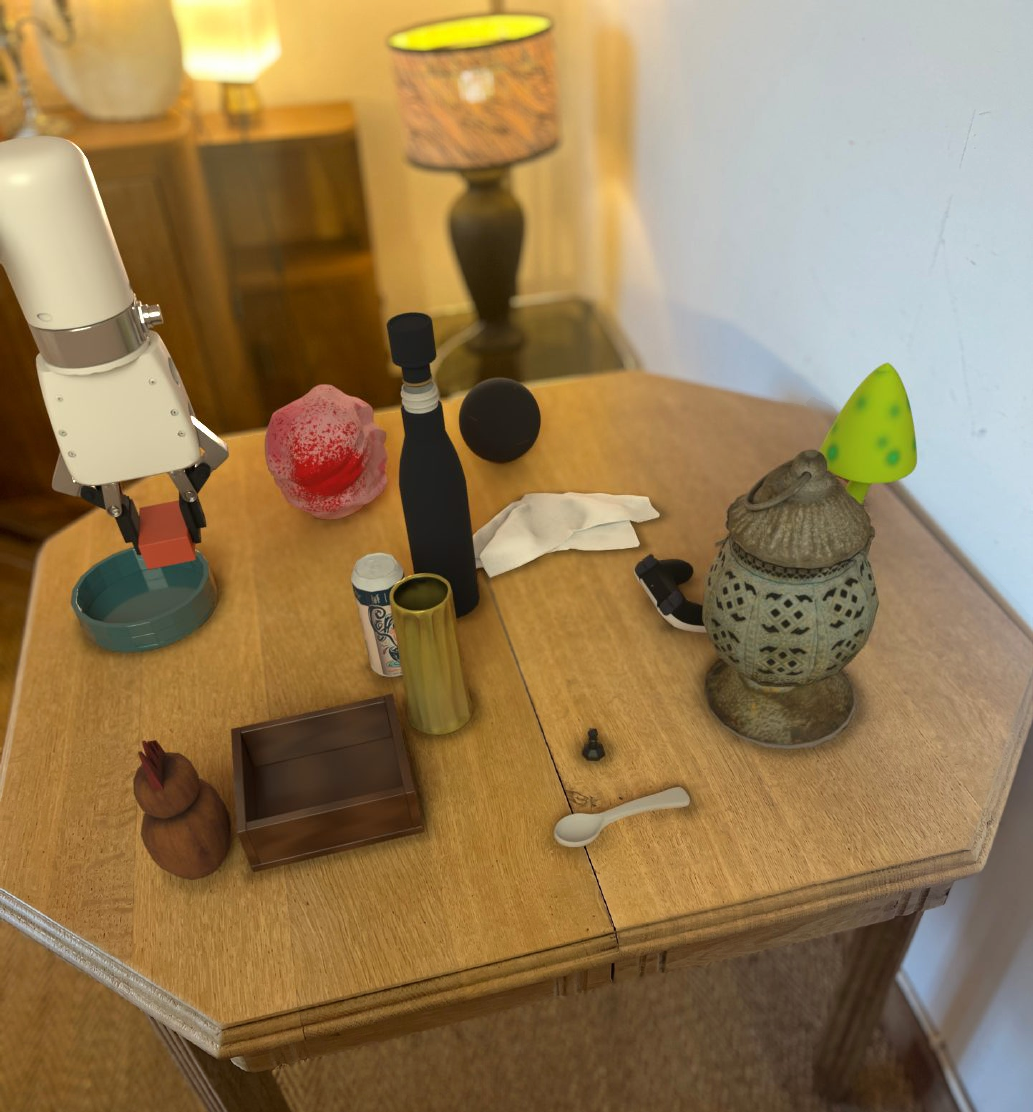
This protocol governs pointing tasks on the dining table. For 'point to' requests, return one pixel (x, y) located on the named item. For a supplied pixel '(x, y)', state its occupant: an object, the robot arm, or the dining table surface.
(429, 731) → the vase
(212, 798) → the wooden figurine
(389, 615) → the beer can
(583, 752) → the chess pawn
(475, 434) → the speaker
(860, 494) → the mushroom
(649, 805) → the spoon
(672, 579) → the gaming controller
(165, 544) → the red rectangular prism
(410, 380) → the black bottle
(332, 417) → the decorative rock
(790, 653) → the lantern
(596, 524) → the cloth
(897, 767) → the dining table surface
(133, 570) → the bowl
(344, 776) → the holder
